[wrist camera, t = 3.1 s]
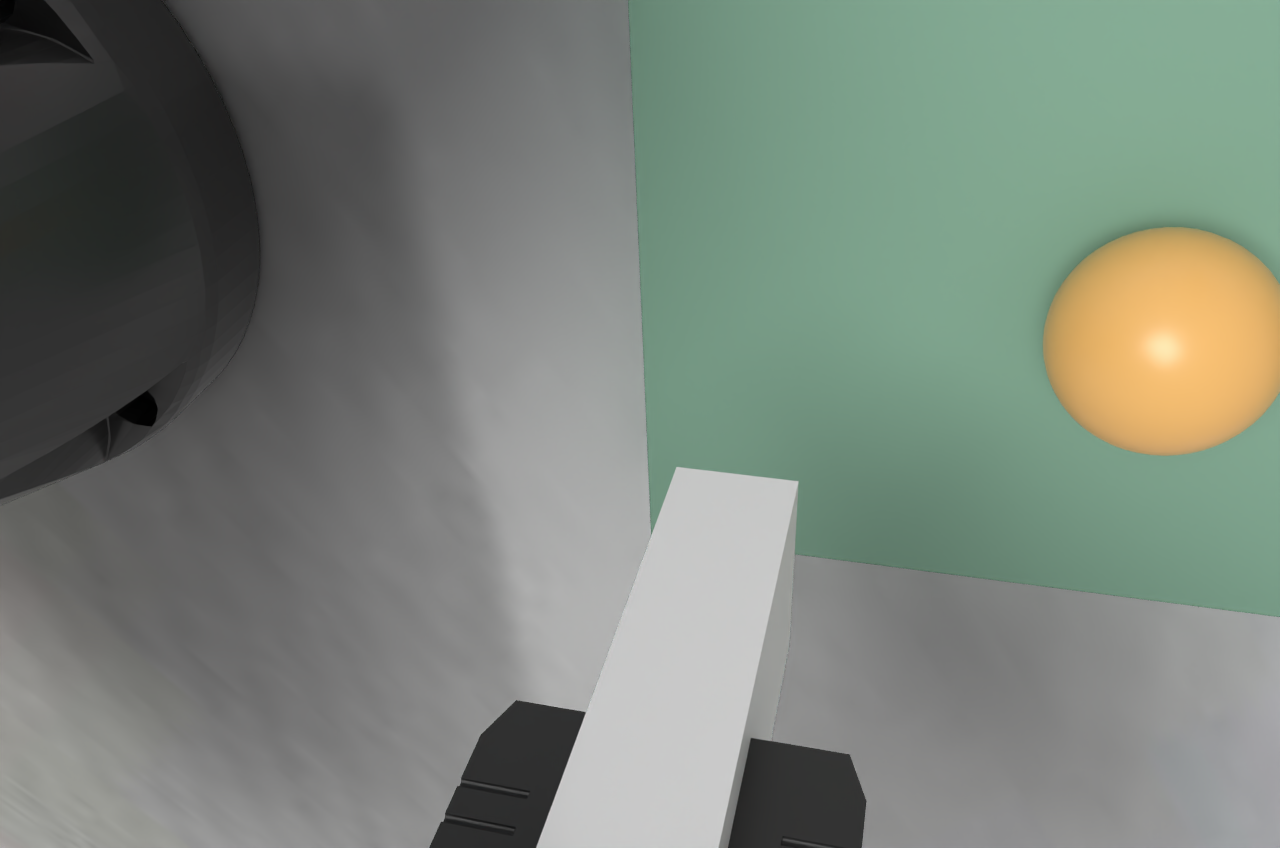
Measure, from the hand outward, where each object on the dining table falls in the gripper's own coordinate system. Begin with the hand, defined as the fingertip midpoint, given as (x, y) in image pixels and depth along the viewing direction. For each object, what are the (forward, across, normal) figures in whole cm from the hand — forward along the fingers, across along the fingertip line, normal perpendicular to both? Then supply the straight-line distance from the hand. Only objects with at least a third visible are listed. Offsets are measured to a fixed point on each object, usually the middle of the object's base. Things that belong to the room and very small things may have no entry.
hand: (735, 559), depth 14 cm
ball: (+6, +6, 0) cm, 8 cm away
